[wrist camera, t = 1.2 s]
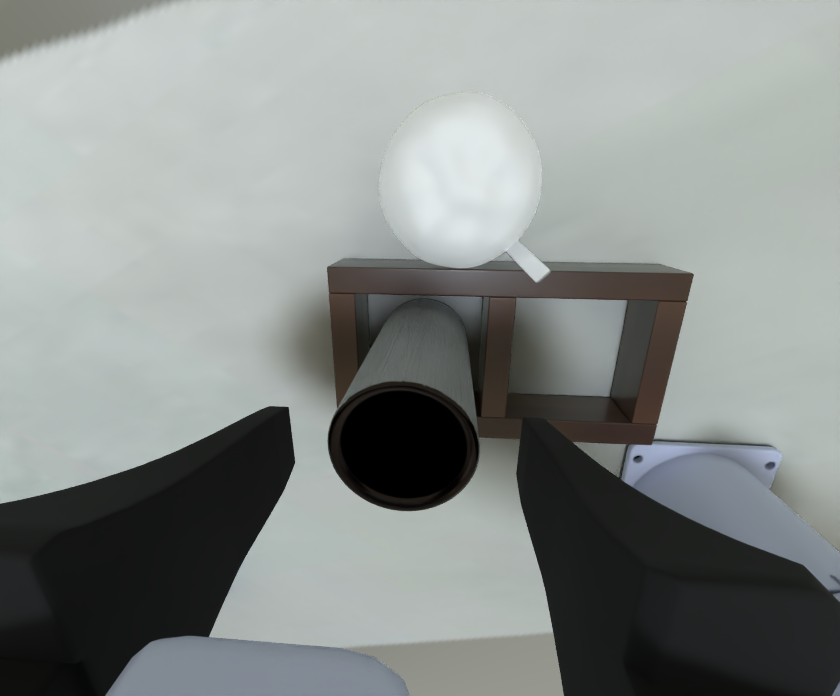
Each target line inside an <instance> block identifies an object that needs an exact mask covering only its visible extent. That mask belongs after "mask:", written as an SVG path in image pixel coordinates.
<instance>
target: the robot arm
mask: <svg viewBox="0 0 840 696" xmlns="http://www.w3.org/2000/svg"><path fill="white" fill-rule="evenodd" d="M638 455H640V456H639V457H638V458H637V459H633V458H634V457H635V456H638ZM781 459H782V453H781V452H780V451H779V450H777V449H776V448H775V447H769V446H747V445H726V444H704V443H682V442H661V441H653V443H652V445H629V446H628V450H627V454H626V459H625V463H624V468H623V472H622V477H621V479H619V478H618V477H616V476H615V475H613V474H612V473H611V472H609V471H608V470H607V469H605V468H604V467H603V466H601V465H600V464H598V463H597V462H596V461H594V460H593V459H592V458H591V457H589V456H588V455H587V454H586V453H584V452H583V451H582V450H581V449H580V448H578V447H577V446H576V445H575V444H574V443H572V442H571V441H570V440H569V439H568V438H567V437H565V436H564V435H563V434H562V433H561V432H560V431H559V430H557V429H556V428H555V427H554V426H553V425H552V424H550V423H549V422H548V421H547V420H546V419H544V418H535V417H523V419H522V428H521V437H520V446H519V455H518V464H517V473H516V474H517V481H518V488H519V495H520V501H521V506H522V509H523V513H524V516H525V520H526V523H527V527H528V530H529V534H530V537H531V540H532V544H533V547H534V551H535V554H536V557H537V561H538V564H539V568H540V571H541V574H542V578H543V583H544V587H545V591H546V596H547V601H548V606H549V611H550V617H551V622H552V627H553V633H554V638H555V645H556V650H557V656H558V662H559V667H560V673H561V679H562V686H563V692H564V696H840V552H839V551H837V550H836V549H835V548H834V547H833V546H832V545H831V544H830V543H828V542H827V541H826V540H825V539H824V538H823V537H822V536H821V535H820V534H818V533H817V532H816V531H815V530H814V529H813V528H812V527H811V526H809V525H808V524H807V523H806V522H805V521H804V520H803V519H802V518H801V517H799V516H798V515H797V514H796V513H795V512H794V511H793V510H792V509H790V508H789V507H788V506H787V505H786V504H785V503H784V502H783V501H782V500H780V499H779V498H778V497H777V496H776V495H775V494H774V493H773V492H771V491H770V488H771V486H772V483H773V480H774V478H775V475H776V472H777V470H778V467H779V465H780V462H781ZM768 462H769V463H768ZM766 463H768V464H767V465H766ZM294 464H295V457H294V449H293V441H292V432H291V424H290V415H289V407H275V406H269V407H266V408H264V409H261V410H259V411H257V412H255V413H253V414H251V415H249V416H247V417H245V418H243V419H241V420H239V421H237V422H235V423H233V424H231V425H229V426H228V427H226V428H224V429H222V430H220V431H218V432H216V433H214V434H212V435H210V436H208V437H206V438H204V439H201V440H199V441H197V442H195V443H193V444H191V445H189V446H187V447H185V448H182V449H180V450H178V451H176V452H173V453H171V454H169V455H166V456H164V457H162V458H159V459H156V460H154V461H151V462H149V463H146V464H144V465H141V466H138V467H135V468H133V469H130V470H127V471H123V472H120V473H117V474H114V475H111V476H108V477H105V478H102V479H99V480H96V481H93V482H89V483H86V484H82V485H79V486H75V487H71V488H68V489H64V490H60V491H56V492H52V493H48V494H44V495H40V496H35V497H31V498H27V499H22V500H17V501H12V502H7V503H2V504H0V696H410V694H409V692H408V689H407V687H406V684H405V682H404V680H403V679H402V678H401V677H400V675H399V674H397V673H396V672H395V671H393V670H392V669H390V668H389V667H388V666H387V665H385V664H384V663H382V662H381V661H380V660H378V659H377V658H376V657H373V656H369V655H366V654H361V653H358V652H354V651H351V650H347V649H343V648H333V647H321V646H309V645H296V644H284V643H272V642H260V641H247V640H235V639H223V638H211V637H209V635H210V633H211V630H212V628H213V626H214V623H215V621H216V619H217V616H218V614H219V612H220V609H221V607H222V605H223V603H224V600H225V598H226V596H227V594H228V592H229V589H230V587H231V585H232V583H233V581H234V579H235V576H236V574H237V572H238V570H239V568H240V566H241V564H242V562H243V560H244V559H245V557H246V555H247V553H248V551H249V550H250V548H251V546H252V545H253V543H254V541H255V539H256V538H257V536H258V534H259V533H260V531H261V529H262V528H263V526H264V524H265V522H266V521H267V519H268V517H269V516H270V514H271V512H272V510H273V509H274V507H275V505H276V504H277V502H278V500H279V498H280V496H281V495H282V493H283V491H284V489H285V487H286V484H287V482H288V480H289V477H290V474H291V472H292V469H293V467H294Z"/></svg>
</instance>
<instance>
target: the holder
mask: <svg viewBox="0 0 840 696" xmlns="http://www.w3.org/2000/svg"><path fill="white" fill-rule="evenodd" d="M543 263H544V264H545V265H546V266H547V267H548V268H549V269H550V271H551V272H550V273H549V274H548V275H547V276H546V277H545V278H544V279H543V280H541V281H540V282H539V283H536V282H534V281H533V280H532V279H531V278H530V277H529V276H528V275H527V274H526V272H525V271H524V270H523V269H522V268H521V267H520V266H519V265H518V264H517V263H516V262H504V261H489V262H487V263H485V264H482V265H479V266H476V267H471V268H451V267H444V266H439V265H435V264H431V263H428V262H425V261H423V260H391V259H342V260H340V261H338V262H336V263H334V264H332V265H330V266H328V267H327V272H328V286H329V302H330V316H331V329H332V343H333V357H334V371H335V385H336V399H337V409H338V407H339V405H340V403H341V401H342V399H343V398H344V396H345V394H346V392H347V390H348V389H349V387H350V385H351V383H352V381H353V380H354V378H355V376H356V374H357V372H358V371H359V369H360V367H361V365H362V363H363V362H364V360H365V358H366V356H367V354H368V353H369V326H368V300H367V294H390V295H433V296H475V297H483V311H482V327H481V343H480V359H479V374H478V390H477V392H473V393H474V401H475V409H476V417H477V426H478V434H479V437H481V438H502V439H520V437H521V428H522V419H523V417H535V418H544V419H546V420H547V421H548V422H549V423H550V424H552V425H553V426H554V427H555V428H556V429H557V430H559V431H560V432H561V433H562V434H563V435H564V436H565V437H567V438H568V439H569V440H570V441H571V442H588V443H609V444H630V445H652V443H653V439H654V435H655V431H656V427H657V423H658V419H659V415H660V411H661V407H662V403H663V399H664V395H665V391H666V386H667V382H668V378H669V374H670V370H671V366H672V362H673V358H674V354H675V350H676V345H677V341H678V337H679V333H680V329H681V325H682V321H683V317H684V313H685V309H686V305H687V302H686V301H687V300H688V296H689V292H690V288H691V284H692V279H693V273H689V272H686V271H682V270H679V269H675V268H672V267H668V266H665V265H661V264H618V263H561V262H543ZM516 297H518V298H560V299H603V300H629V303H628V308H627V313H626V318H625V323H624V329H623V334H622V339H621V344H620V349H619V355H618V360H617V365H616V370H615V375H614V381H613V386H612V391H611V396H610V397H611V398H610V397H584V396H559V395H533V394H508V384H509V373H510V362H511V351H512V340H513V330H514V319H515V308H516Z"/></svg>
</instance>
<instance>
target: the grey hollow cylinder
mask: <svg viewBox="0 0 840 696" xmlns="http://www.w3.org/2000/svg"><path fill="white" fill-rule="evenodd" d="M328 450H329V455H330V459H331V462H332V464H333V467H334V469H335V471H336V472H337V474H338V476H339V477H340V478H341V480H342V481H343V482H344V483H345V485H346V486H347V487H348V488H349V489H351V490H352V491H353V492H354V493H355V494H357V495H358V496H360V497H361V498H363V499H364V500H366V501H368V502H370V503H372V504H375V505H377V506H380V507H383V508H387V509H391V510H398V511H418V510H425V509H429V508H433V507H436V506H438V505H441V504H443V503H445V502H447V501H449V500H450V499H452V498H453V497H455V496H456V495H457V494H458V493H460V492H461V491H462V490H463V489H464V488H465V487H466V485H467V484H468V483H469V481H470V480H471V478H472V477H473V475H474V473H475V470H476V468H477V464H478V460H479V453H480V445H479V434H478V426H477V417H476V409H475V401H474V393H473V384H472V376H471V368H470V359H469V351H468V343H467V335H466V331H465V328H464V325H463V323H462V321H461V319H460V318H459V316H458V315H457V314H456V313H455V312H454V311H453V310H452V309H451V308H450V307H448V306H447V305H445V304H443V303H441V302H438V301H435V300H430V299H417V300H412V301H409V302H406V303H404V304H402V305H401V306H399V307H398V308H397V309H396V310H394V311H393V313H392V314H391V315H390V316H389V317H388V319H387V320H386V322H385V324H384V325H383V327H382V329H381V331H380V333H379V334H378V336H377V338H376V340H375V342H374V343H373V345H372V347H371V349H370V351H369V353H368V354H367V356H366V358H365V360H364V362H363V363H362V365H361V367H360V369H359V371H358V372H357V374H356V376H355V378H354V380H353V381H352V383H351V385H350V387H349V389H348V390H347V392H346V394H345V396H344V398H343V399H342V401H341V403H340V405H339V407H338V409H337V410H336V412H335V414H334V416H333V418H332V421H331V424H330V427H329V431H328Z"/></svg>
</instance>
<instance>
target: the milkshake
mask: <svg viewBox="0 0 840 696" xmlns="http://www.w3.org/2000/svg"><path fill="white" fill-rule="evenodd" d="M541 189H542V165H541V158H540V154H539V150H538V147H537V144H536V142H535V140H534V138H533V136H532V134H531V133H530V131H529V130H528V128H527V126H526V125H525V124H524V122H523V121H522V119H521V118H520V117H519V116H518V115H517V113H516V112H515V111H514V110H513V109H511V108H510V107H509V106H508V105H506V104H505V103H504V102H502V101H500V100H499V99H497V98H495V97H493V96H490V95H488V94H485V93H481V92H460V93H454V94H449V95H444V96H440V97H437V98H434V99H431V100H429V101H427V102H425V103H423V104H422V105H420V106H419V107H417V108H416V109H415V110H414V111H413V112H412V113H410V114H409V115H408V116H407V117H406V119H405V120H404V121H403V122H402V123H401V124H400V126H399V127H398V128H397V130H396V131H395V133H394V134H393V136H392V138H391V139H390V141H389V143H388V146H387V148H386V150H385V153H384V156H383V160H382V164H381V170H380V178H379V198H380V204H381V208H382V211H383V214H384V217H385V219H386V222H387V224H388V225H389V227H390V229H391V230H392V232H393V233H394V234H395V236H396V237H397V238H398V239H399V241H400V242H401V243H402V244H403V245H404V246H405V247H406V248H407V249H408V250H409V251H410V252H411V253H412V254H414V255H415V256H416V257H418V258H419V259H421V260H423V261H425V262H428V263H431V264H435V265H439V266H444V267H451V268H471V267H476V266H479V265H482V264H485V263H487V262H489V261H491V260H493V259H495V258H497V257H498V256H500V255H501V254H503V253H504V252H506V253H507V254H508V255H509V256H510V257H511V258H512V259H513V260H514V261H515V262H516V263H517V264H518V265H519V266H520V267H521V268H522V269H523V270H524V271H525V272H526V274H527V275H528V276H529V277H530V278H531V279H532V280H533V281H534V282H536V283H539V282H540V281H541V280H543V279H544V278H545V277H546V276H547V275H548V274H549V273H550V272H551V271H550V269H549V268H548V267H547V266H546V265H545V264H544V263H543V262H541V261H540V260H539V259H538V258H537V257H536V256H535V255H534V254H533V253H532V252H531V251H530V250H529V249H527V248H526V247H525V246H524V245H523V244H522V243H521V242H520V241H519V240H518V239H519V238H520V237H521V236H522V235H523V233H524V232H525V231H526V229H527V228H528V226H529V225H530V223H531V221H532V219H533V218H534V215H535V213H536V211H537V208H538V205H539V201H540V196H541Z"/></svg>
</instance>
